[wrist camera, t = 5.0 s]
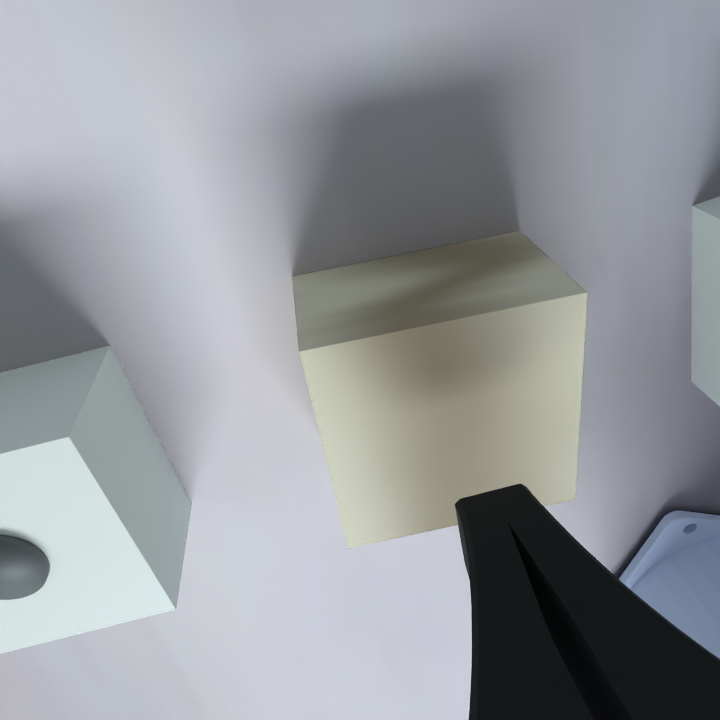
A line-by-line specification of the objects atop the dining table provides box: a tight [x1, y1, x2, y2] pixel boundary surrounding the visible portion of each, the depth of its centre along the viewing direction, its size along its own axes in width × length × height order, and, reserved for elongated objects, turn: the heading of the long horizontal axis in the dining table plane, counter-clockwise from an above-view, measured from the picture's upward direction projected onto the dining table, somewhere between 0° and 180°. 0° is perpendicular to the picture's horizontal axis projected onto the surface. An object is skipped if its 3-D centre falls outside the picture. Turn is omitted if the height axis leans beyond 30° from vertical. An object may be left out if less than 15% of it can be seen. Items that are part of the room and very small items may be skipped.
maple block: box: [292, 231, 588, 549], centre depth 15 cm, size 6×6×4 cm
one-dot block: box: [0, 345, 191, 654], centre depth 15 cm, size 6×6×4 cm
